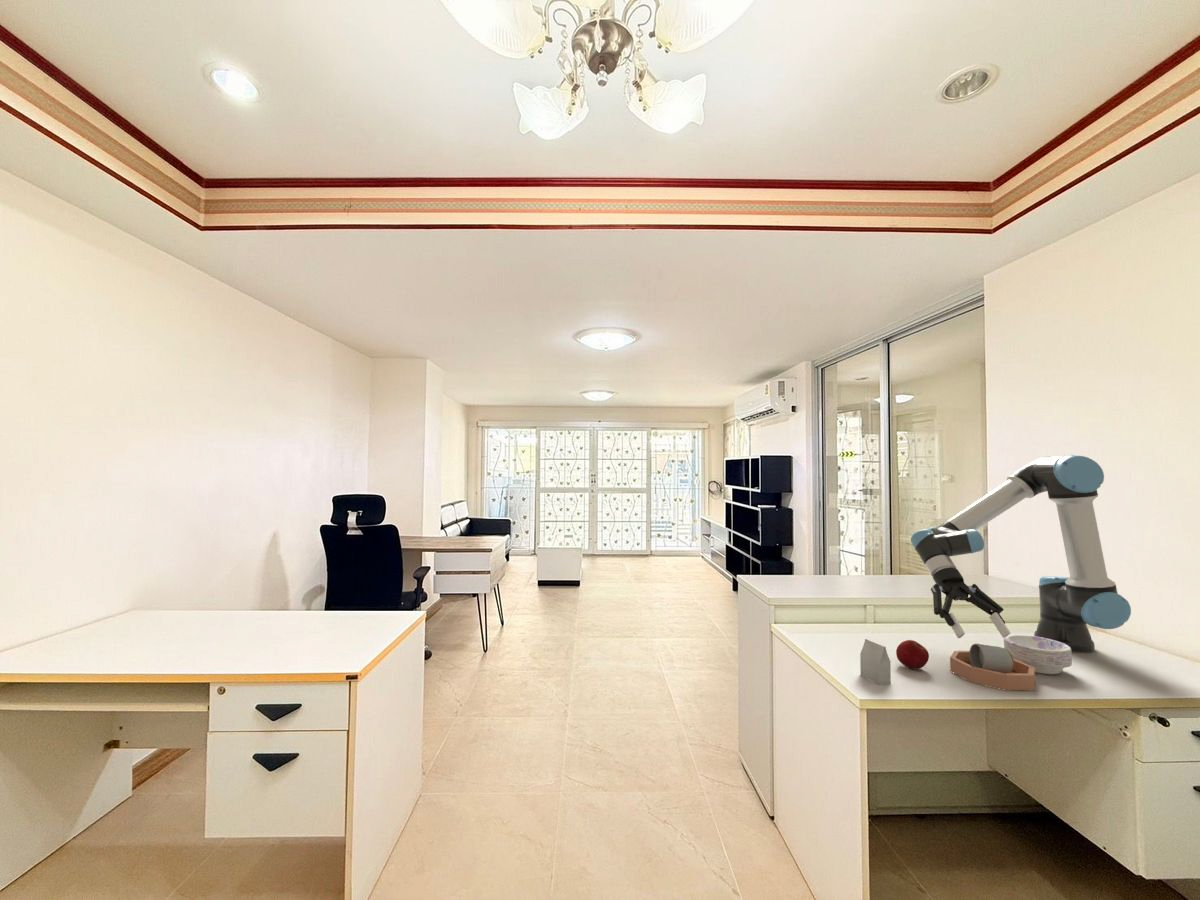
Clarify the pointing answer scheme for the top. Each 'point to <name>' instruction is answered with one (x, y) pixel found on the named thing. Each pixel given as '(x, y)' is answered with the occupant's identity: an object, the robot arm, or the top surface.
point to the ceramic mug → (991, 658)
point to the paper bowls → (1039, 653)
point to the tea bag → (875, 663)
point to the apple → (912, 654)
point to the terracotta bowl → (993, 673)
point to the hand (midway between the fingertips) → (984, 635)
